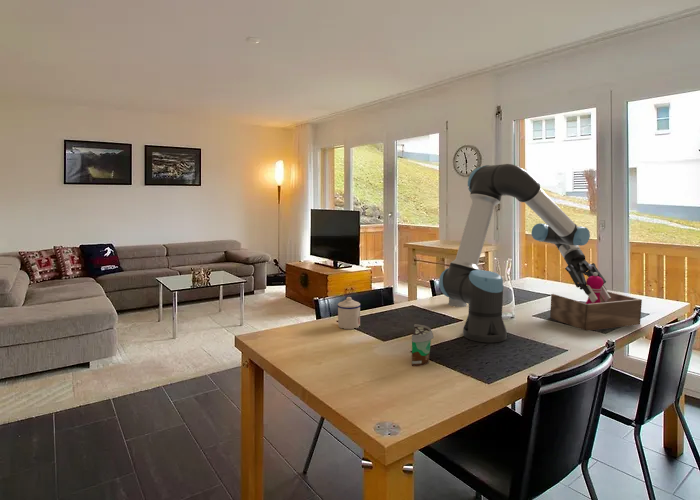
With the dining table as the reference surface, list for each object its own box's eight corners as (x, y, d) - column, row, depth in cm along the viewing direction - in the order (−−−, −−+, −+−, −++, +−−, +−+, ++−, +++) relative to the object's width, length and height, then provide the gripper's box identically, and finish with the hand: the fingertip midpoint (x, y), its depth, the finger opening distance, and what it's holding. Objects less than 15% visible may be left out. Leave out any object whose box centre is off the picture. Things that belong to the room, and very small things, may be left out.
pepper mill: (603, 319, 180) (606, 271, 178) (602, 324, 174) (605, 274, 172) (583, 317, 184) (586, 270, 182) (581, 321, 178) (584, 272, 176)
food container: (432, 369, 131) (432, 336, 129) (411, 368, 132) (411, 335, 131) (433, 354, 143) (433, 324, 141) (413, 353, 144) (414, 323, 143)
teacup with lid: (364, 328, 172) (363, 299, 170) (341, 330, 169) (341, 301, 168) (353, 320, 183) (353, 292, 182) (332, 322, 180) (332, 294, 179)
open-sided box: (550, 317, 184) (551, 294, 183) (600, 312, 191) (601, 289, 190) (586, 330, 166) (587, 304, 165) (640, 324, 173) (641, 299, 172)
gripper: (584, 258, 194) (614, 303, 180) (549, 260, 188) (576, 307, 175) (595, 247, 188) (626, 293, 174) (558, 249, 183) (588, 296, 169)
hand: (601, 300), depth 175 cm, fingers closed on pepper mill, 6 cm apart
